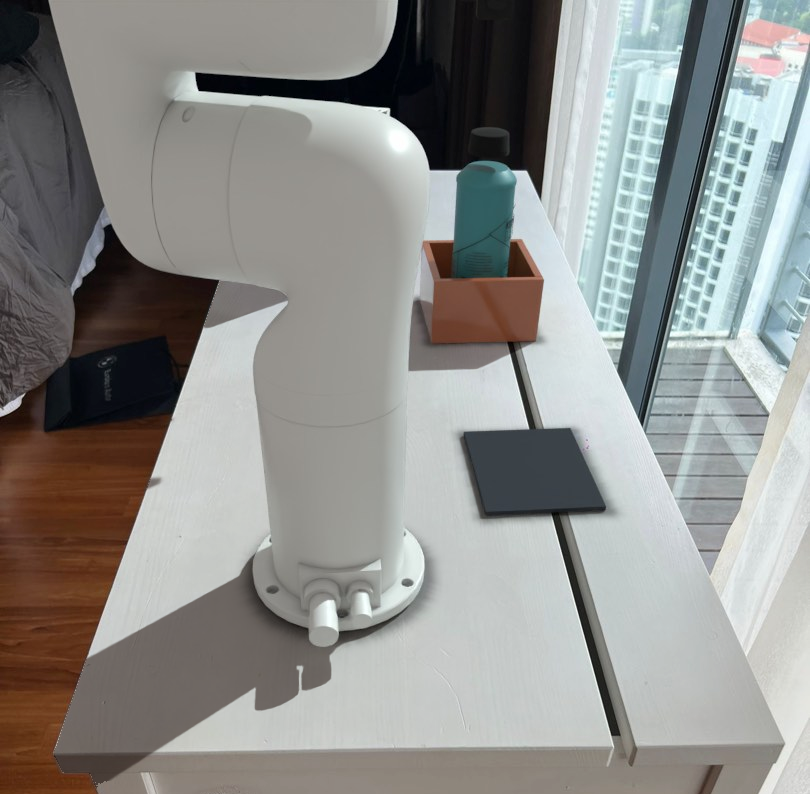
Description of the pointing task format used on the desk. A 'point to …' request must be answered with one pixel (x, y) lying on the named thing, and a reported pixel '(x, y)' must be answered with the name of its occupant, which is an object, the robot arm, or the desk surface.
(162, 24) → the robot arm
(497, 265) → the beverage bottle
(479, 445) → the mat
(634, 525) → the desk surface
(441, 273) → the holder
